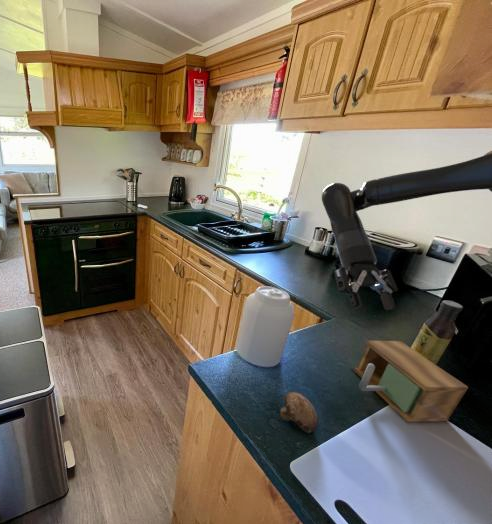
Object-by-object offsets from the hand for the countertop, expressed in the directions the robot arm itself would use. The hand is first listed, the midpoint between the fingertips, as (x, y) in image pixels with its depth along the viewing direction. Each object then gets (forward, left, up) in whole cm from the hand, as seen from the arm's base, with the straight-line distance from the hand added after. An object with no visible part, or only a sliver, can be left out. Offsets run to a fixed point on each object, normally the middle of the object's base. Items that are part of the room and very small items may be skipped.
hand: (374, 309), depth 71 cm
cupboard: (-10, +2, -20) cm, 22 cm away
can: (+23, +4, -20) cm, 31 cm away
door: (-5, +9, -19) cm, 21 cm away
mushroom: (+13, +24, -20) cm, 34 cm away
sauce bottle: (-21, -18, -20) cm, 34 cm away
